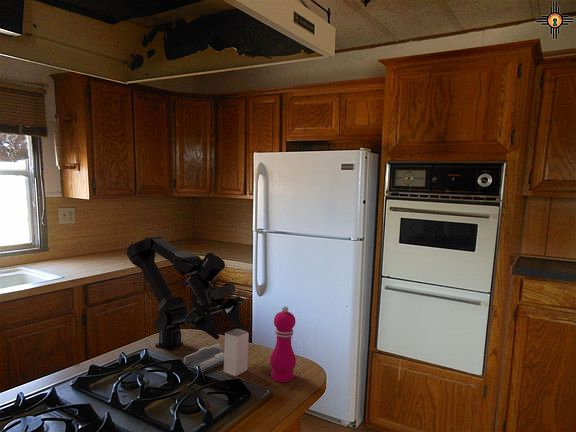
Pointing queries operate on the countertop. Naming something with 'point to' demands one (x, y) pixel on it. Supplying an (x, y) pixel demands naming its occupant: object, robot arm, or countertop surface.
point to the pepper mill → (283, 347)
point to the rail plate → (206, 357)
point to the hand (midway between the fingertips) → (229, 334)
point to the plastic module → (236, 351)
